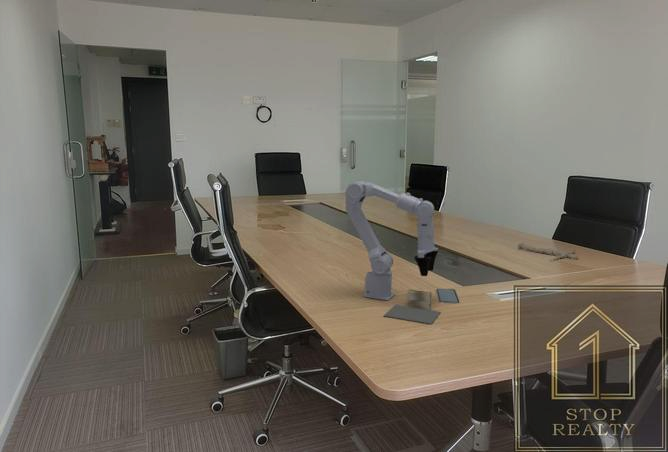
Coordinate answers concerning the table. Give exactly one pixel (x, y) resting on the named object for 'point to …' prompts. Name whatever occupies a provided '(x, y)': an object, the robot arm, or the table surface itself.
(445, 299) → the smartphone
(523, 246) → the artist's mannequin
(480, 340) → the table surface
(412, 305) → the brown wooden block
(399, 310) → the mat
